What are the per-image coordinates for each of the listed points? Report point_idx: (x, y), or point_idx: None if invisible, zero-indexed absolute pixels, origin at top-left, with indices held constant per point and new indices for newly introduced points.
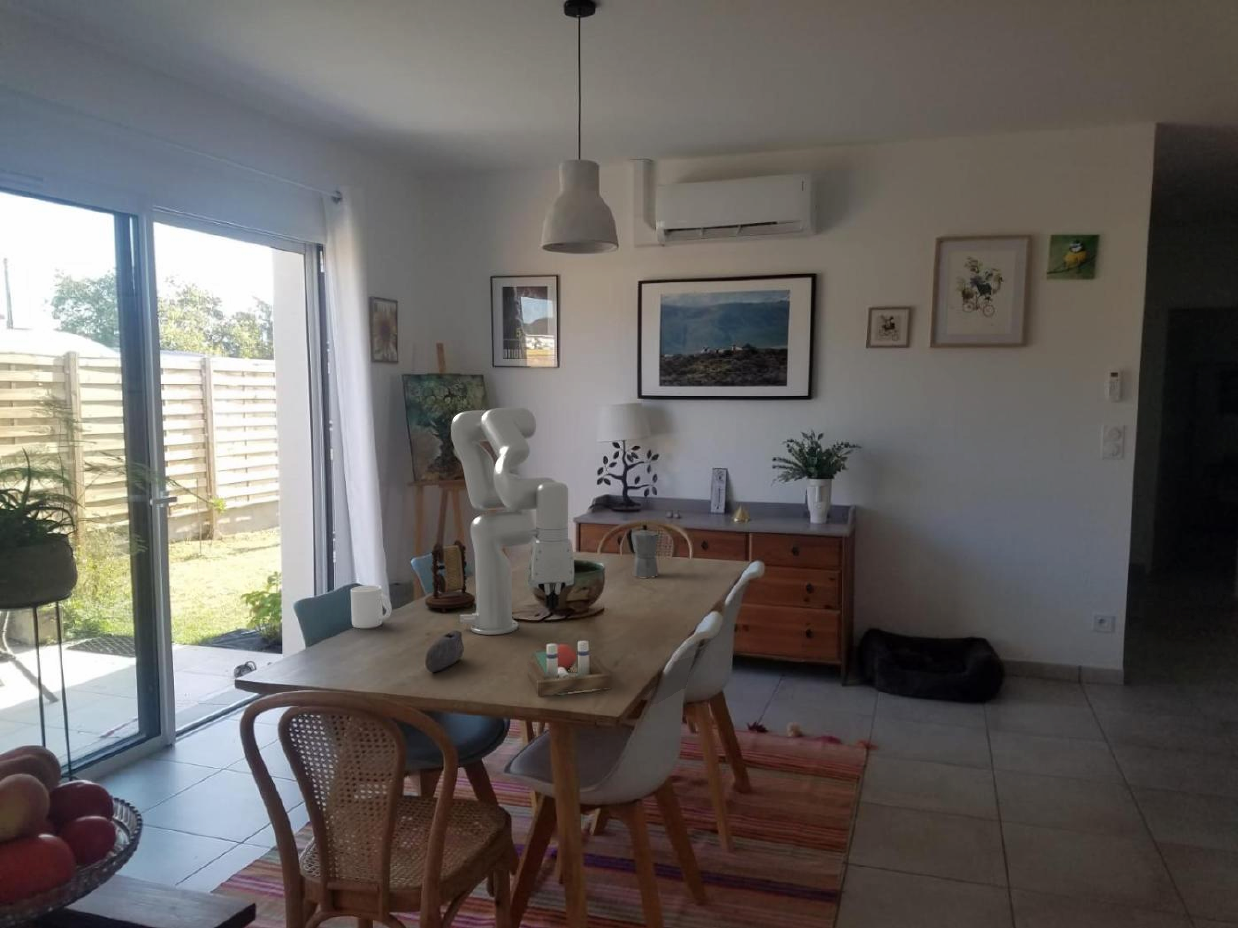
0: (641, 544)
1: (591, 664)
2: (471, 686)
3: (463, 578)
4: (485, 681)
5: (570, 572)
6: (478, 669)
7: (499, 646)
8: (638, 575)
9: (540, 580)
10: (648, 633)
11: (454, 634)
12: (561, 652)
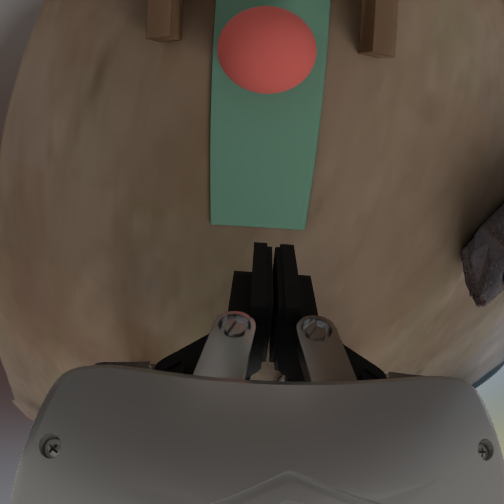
0: None
1: (176, 13)
2: (498, 70)
3: None
4: (473, 79)
5: (57, 446)
6: (462, 168)
7: (359, 301)
8: None
9: (439, 396)
10: (34, 274)
11: (501, 278)
12: (282, 13)
